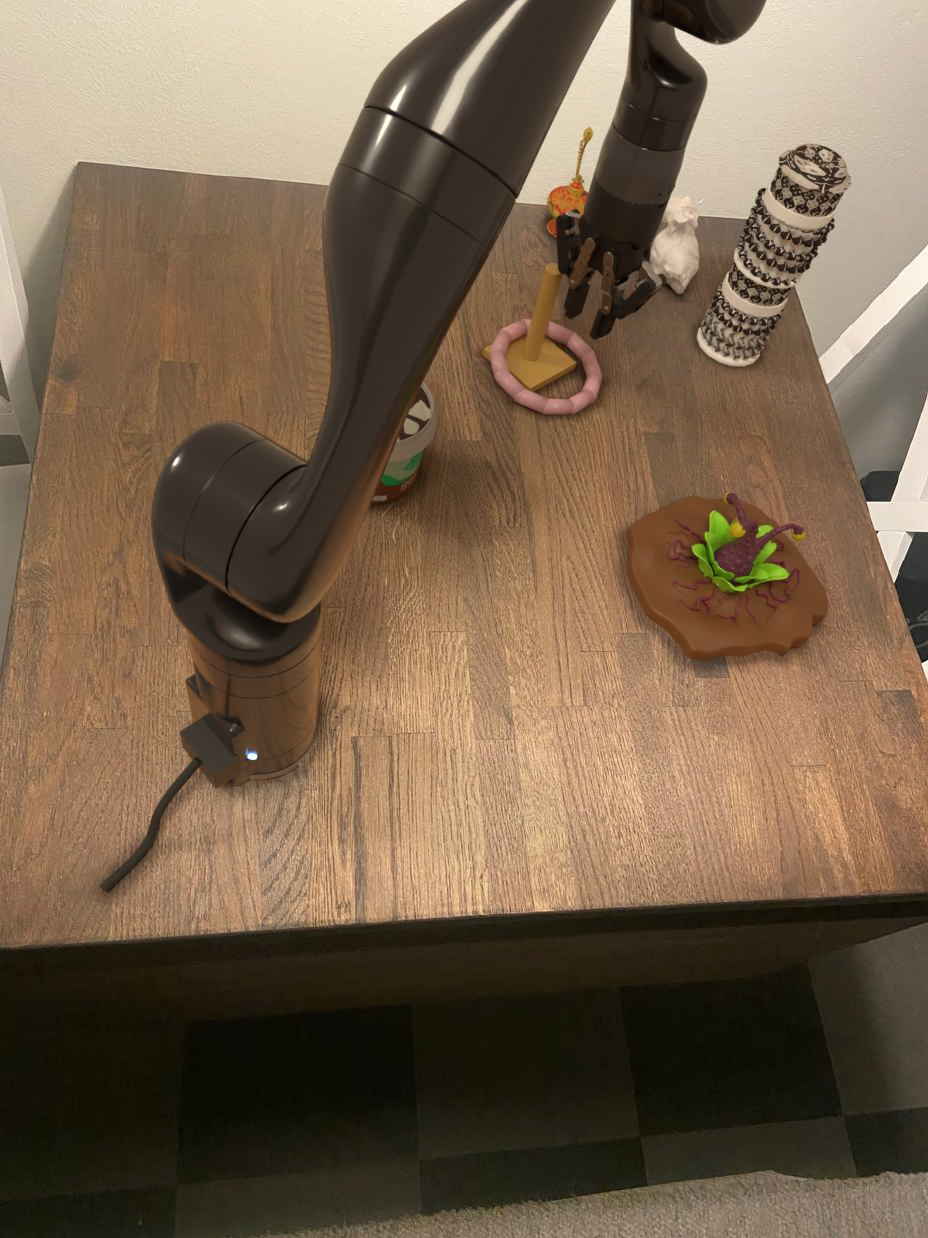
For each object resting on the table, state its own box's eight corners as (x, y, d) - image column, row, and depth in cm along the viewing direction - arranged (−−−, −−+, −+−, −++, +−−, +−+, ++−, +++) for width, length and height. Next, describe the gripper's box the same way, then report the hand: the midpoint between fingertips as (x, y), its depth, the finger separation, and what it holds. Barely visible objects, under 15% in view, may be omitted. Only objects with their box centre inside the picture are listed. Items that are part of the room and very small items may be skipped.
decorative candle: (733, 378, 114) (832, 192, 93) (679, 334, 117) (763, 145, 96) (776, 352, 118) (880, 169, 97) (723, 311, 121) (813, 124, 100)
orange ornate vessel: (533, 271, 119) (553, 192, 110) (545, 194, 129) (565, 116, 120) (584, 282, 119) (608, 205, 110) (592, 205, 129) (615, 128, 120)
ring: (541, 435, 104) (547, 425, 102) (465, 352, 106) (469, 341, 105) (619, 389, 110) (625, 379, 109) (545, 312, 113) (550, 301, 111)
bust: (663, 260, 129) (636, 189, 121) (717, 242, 125) (692, 167, 117) (658, 313, 122) (628, 241, 114) (714, 296, 118) (688, 220, 111)
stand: (528, 394, 106) (555, 302, 95) (482, 354, 109) (503, 259, 98) (574, 368, 110) (605, 276, 99) (528, 330, 112) (554, 236, 102)
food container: (411, 529, 93) (423, 462, 84) (352, 514, 92) (359, 445, 84) (437, 444, 99) (451, 374, 91) (382, 430, 99) (391, 358, 91)
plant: (590, 531, 96) (623, 458, 87) (740, 493, 103) (785, 421, 94) (685, 690, 87) (733, 628, 78) (842, 637, 94) (903, 574, 85)
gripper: (554, 148, 86) (516, 301, 100) (665, 229, 81) (609, 377, 96) (606, 128, 89) (562, 278, 104) (715, 205, 85) (654, 351, 99)
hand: (585, 325), depth 99 cm, fingers open, 3 cm apart
